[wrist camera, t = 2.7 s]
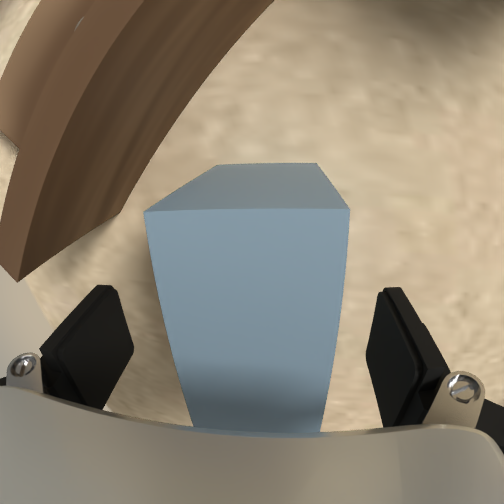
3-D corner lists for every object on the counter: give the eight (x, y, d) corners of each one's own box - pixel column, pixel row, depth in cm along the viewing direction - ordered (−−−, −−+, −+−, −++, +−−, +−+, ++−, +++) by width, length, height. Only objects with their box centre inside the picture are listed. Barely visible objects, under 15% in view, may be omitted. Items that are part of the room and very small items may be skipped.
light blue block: (316, 163, 12) (349, 209, 5) (307, 357, 16) (309, 471, 9) (210, 165, 12) (130, 212, 6) (228, 354, 16) (200, 464, 10)
